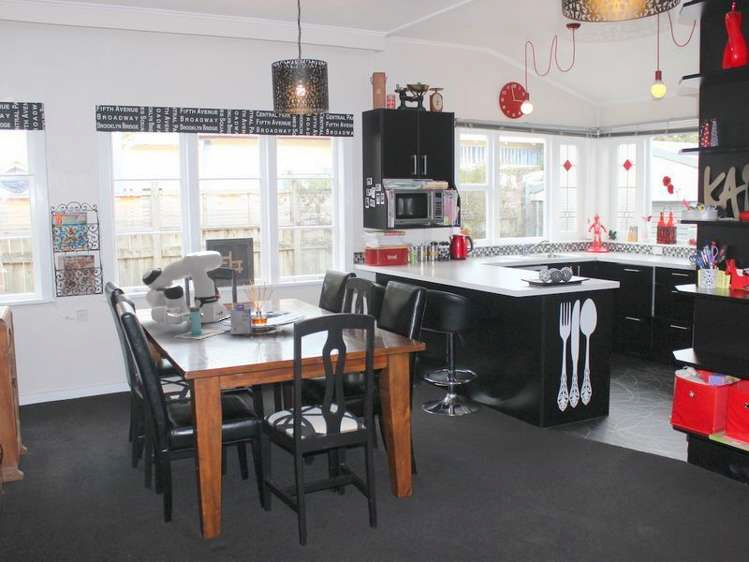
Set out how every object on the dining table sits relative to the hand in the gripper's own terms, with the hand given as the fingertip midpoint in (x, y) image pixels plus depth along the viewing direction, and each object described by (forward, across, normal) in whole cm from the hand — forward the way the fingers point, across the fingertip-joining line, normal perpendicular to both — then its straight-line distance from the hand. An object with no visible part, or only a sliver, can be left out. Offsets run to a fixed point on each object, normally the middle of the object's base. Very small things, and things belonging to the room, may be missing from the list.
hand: (196, 317), depth 367 cm
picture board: (-1, -2, -10) cm, 10 cm away
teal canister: (-1, 0, -9) cm, 9 cm away
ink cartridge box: (+17, -14, -10) cm, 24 cm away
